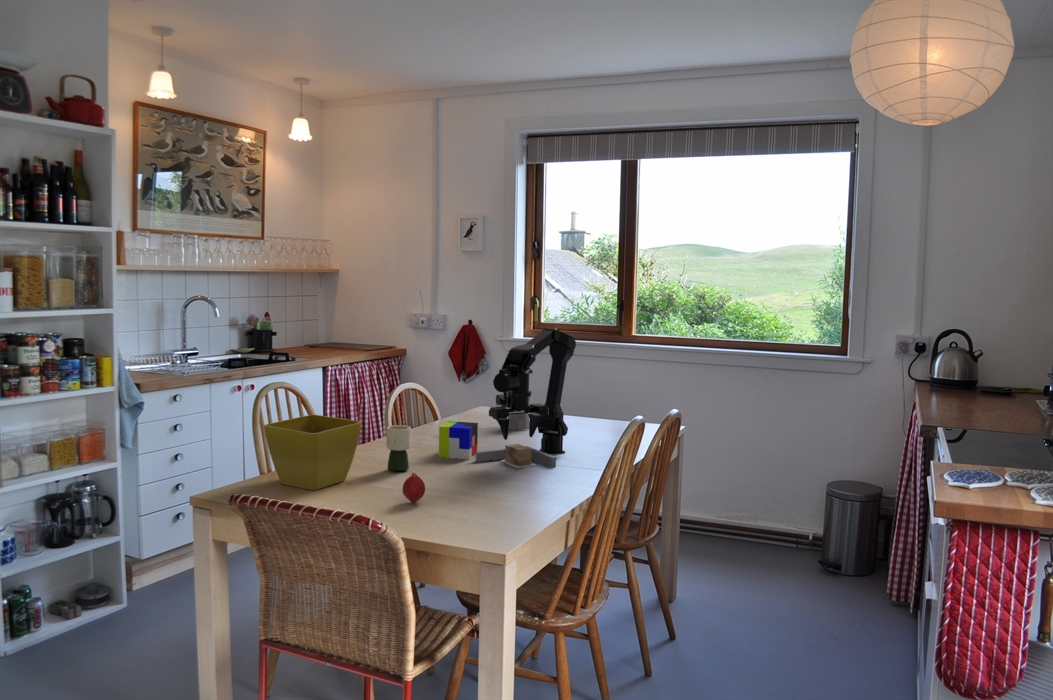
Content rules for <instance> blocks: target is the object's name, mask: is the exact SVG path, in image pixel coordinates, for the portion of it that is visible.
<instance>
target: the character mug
mask: <svg viewBox="0 0 1053 700" xmlns="http://www.w3.org/2000/svg"><path fill="white" fill-rule="evenodd" d="M385 435H386V446H385V447H386V448H387V449H388V450H389V454H388V455H389V456H388V461H387V470H388V471H395V472H396V473H397V472H398V471H407V470H409V469H410V467H409V457H408V452H407V450H410V449H411V445H412V443H411V439H412V438H411V437H412V428H411V426H408V425H404V424H403V425H402V424H401V425H400V424H398V425H397V424H396V425H394V424H393V425H388V426H387V427H386V434H385Z"/></svg>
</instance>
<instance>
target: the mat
mask: <svg viewBox="0 0 1053 700" xmlns="http://www.w3.org/2000/svg"><path fill="white" fill-rule="evenodd" d="M499 461H500V462H501V463H503V464H505V463H506V465H508V466H510V467H513V468H515V469H522V468H523V469H524V468H531V467H532V468H533V467H536V466H537V465H536V464H535V463H533V462H531V465H525V466H517V465H515V464H512V463H510V462H507V461H505V459H501V460H499Z"/></svg>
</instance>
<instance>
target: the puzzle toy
mask: <svg viewBox="0 0 1053 700" xmlns="http://www.w3.org/2000/svg"><path fill="white" fill-rule="evenodd" d="M478 433H479V423H478V422H470V421H469V422H468V421H457V420H456V421H454V420H453V421H452V420H448V421H446V422H444V423H443V424H442V425H440V426H439V428H438V458H442V457H445V458H446V459H455V458H458V459H457V460H468V459H469V460H470V459H472V458H473V457H475V456H476V452H478V436H479V435H478ZM472 456H473V457H472ZM445 458H444V459H445Z"/></svg>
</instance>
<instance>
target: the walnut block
mask: <svg viewBox="0 0 1053 700" xmlns="http://www.w3.org/2000/svg"><path fill="white" fill-rule="evenodd" d="M504 446H505V447H504V449H505V459H504V460H505V461H507V462H510V463H512V464H515V465H517V466H525V465H531V463H532V459H531V457H532V449H531V448H532V447H531V448H528V447H529V446H528V447H525V446H526V445H521V444H519V443H513V444H505V445H504Z"/></svg>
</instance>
